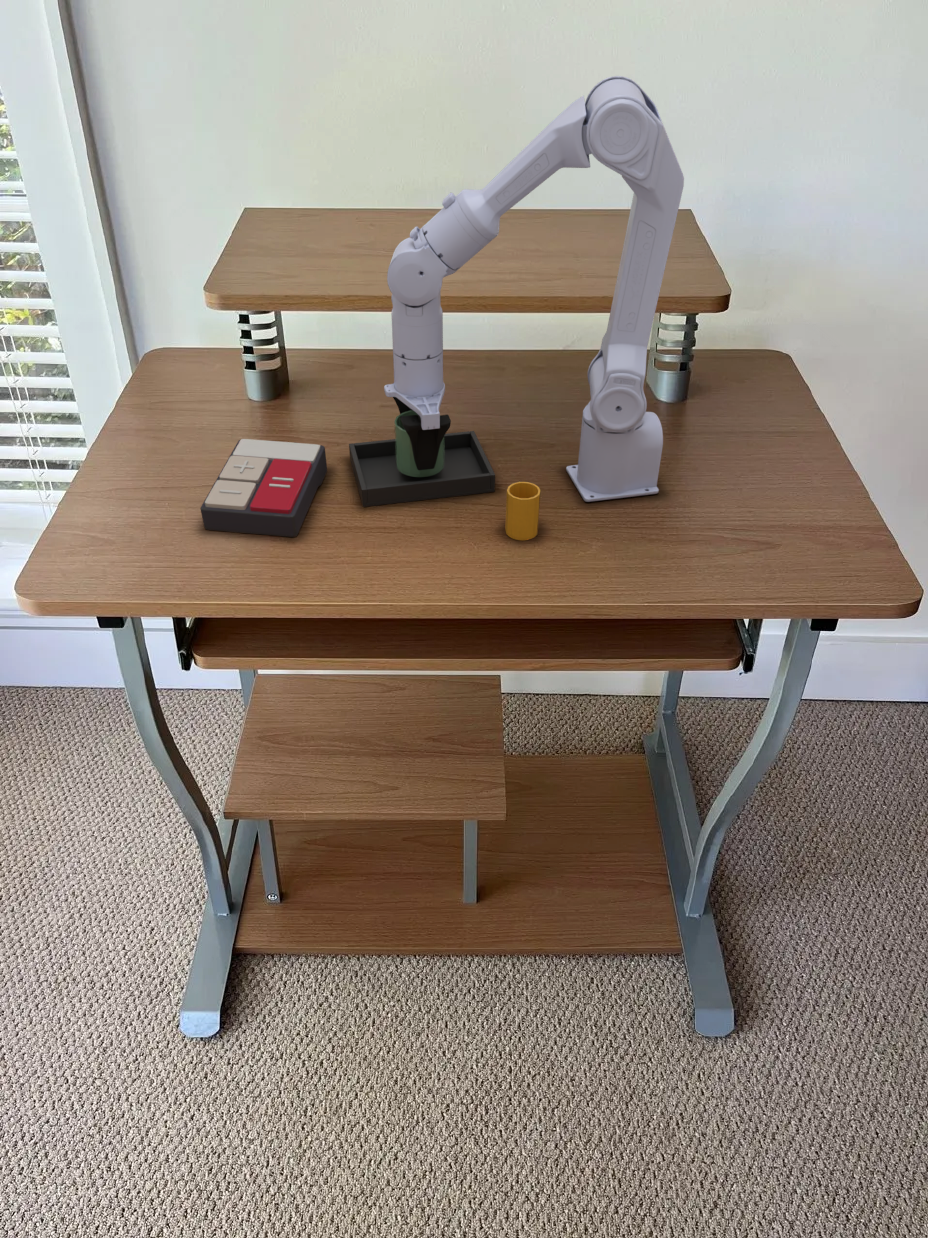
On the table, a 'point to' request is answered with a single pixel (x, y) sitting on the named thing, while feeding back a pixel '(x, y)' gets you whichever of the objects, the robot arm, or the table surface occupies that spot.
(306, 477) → the calculator
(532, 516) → the mustard cup
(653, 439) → the robot arm
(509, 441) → the table surface
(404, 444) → the green cup
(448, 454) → the tray
